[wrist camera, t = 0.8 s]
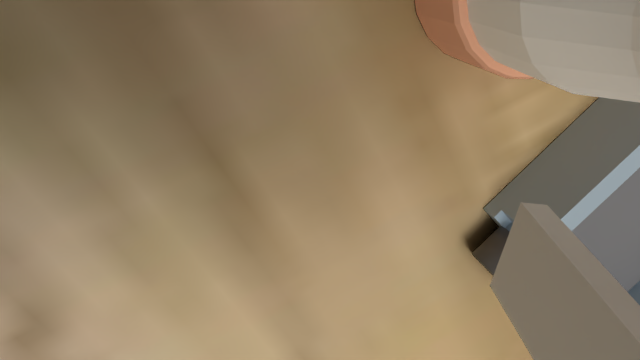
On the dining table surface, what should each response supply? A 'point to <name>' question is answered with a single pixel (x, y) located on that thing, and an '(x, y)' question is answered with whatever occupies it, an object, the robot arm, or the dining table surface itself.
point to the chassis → (584, 190)
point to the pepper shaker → (544, 41)
